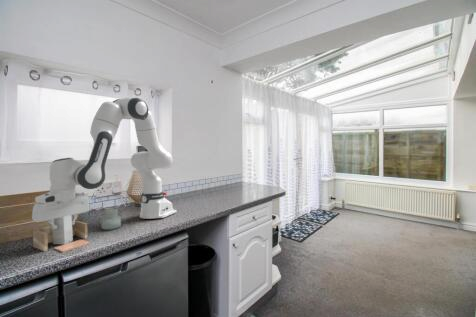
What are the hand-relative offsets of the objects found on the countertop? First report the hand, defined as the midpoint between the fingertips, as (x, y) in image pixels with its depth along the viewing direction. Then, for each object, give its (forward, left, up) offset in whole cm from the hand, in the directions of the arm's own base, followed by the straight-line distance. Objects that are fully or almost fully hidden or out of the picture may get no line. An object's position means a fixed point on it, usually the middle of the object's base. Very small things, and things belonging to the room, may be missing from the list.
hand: (63, 226), depth 98 cm
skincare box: (0, -1, -7) cm, 7 cm away
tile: (0, +7, -7) cm, 10 cm away
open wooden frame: (0, -1, -7) cm, 7 cm away
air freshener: (-22, -1, -7) cm, 23 cm away
